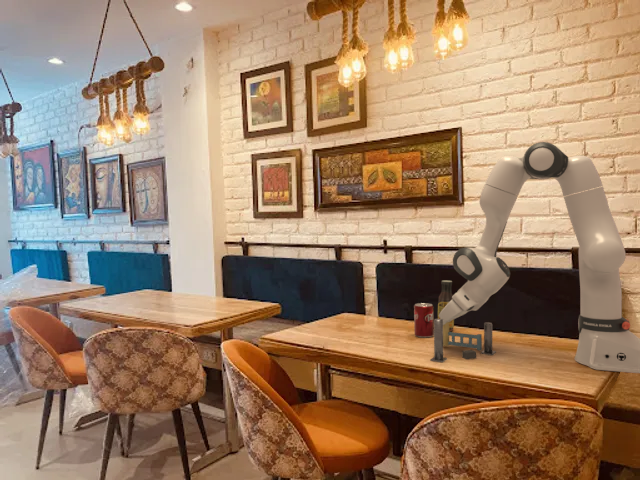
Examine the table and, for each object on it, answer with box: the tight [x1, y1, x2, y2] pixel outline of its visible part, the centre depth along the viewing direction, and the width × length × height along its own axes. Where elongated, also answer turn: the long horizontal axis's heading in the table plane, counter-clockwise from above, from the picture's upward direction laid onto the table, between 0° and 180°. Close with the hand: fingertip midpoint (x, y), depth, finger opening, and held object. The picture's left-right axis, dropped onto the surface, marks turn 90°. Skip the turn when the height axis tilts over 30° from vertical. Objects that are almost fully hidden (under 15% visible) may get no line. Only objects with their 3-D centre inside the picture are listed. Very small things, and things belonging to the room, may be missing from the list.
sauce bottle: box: [437, 280, 455, 332], centre depth 203 cm, size 7×6×20 cm
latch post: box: [430, 318, 448, 363], centre depth 164 cm, size 4×4×13 cm
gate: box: [443, 322, 483, 352], centre depth 175 cm, size 14×3×11 cm, turn 55°
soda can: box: [413, 302, 435, 339], centre depth 196 cm, size 7×7×12 cm
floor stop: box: [461, 349, 477, 361], centre depth 165 cm, size 4×2×2 cm, turn 110°
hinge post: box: [480, 321, 497, 356], centre depth 170 cm, size 4×4×10 cm
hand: (443, 323), depth 179 cm, fingers closed on gate, 3 cm apart
